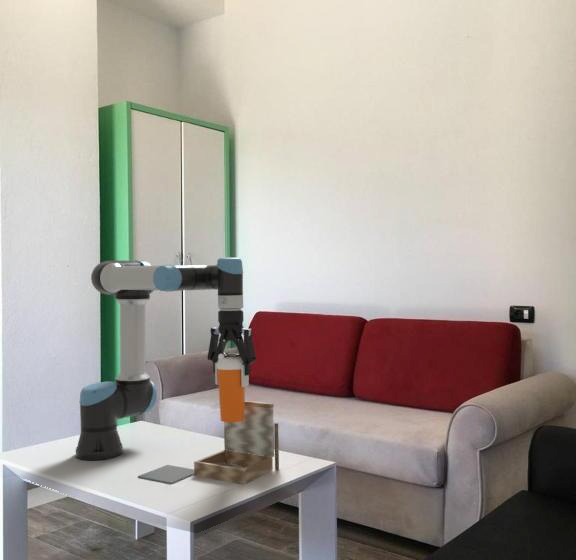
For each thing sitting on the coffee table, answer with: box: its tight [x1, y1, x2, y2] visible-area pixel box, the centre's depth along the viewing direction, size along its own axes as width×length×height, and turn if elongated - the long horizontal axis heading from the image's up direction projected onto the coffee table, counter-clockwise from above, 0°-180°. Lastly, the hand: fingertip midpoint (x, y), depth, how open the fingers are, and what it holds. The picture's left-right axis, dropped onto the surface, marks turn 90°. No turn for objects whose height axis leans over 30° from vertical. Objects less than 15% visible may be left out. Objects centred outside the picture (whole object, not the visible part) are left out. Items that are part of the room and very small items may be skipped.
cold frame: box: [193, 400, 280, 485], centre depth 199 cm, size 19×17×20 cm
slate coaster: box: [137, 464, 195, 485], centre depth 198 cm, size 13×13×1 cm
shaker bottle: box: [217, 351, 246, 423], centre depth 198 cm, size 9×9×20 cm
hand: (231, 385), depth 198 cm, fingers closed on shaker bottle, 9 cm apart
